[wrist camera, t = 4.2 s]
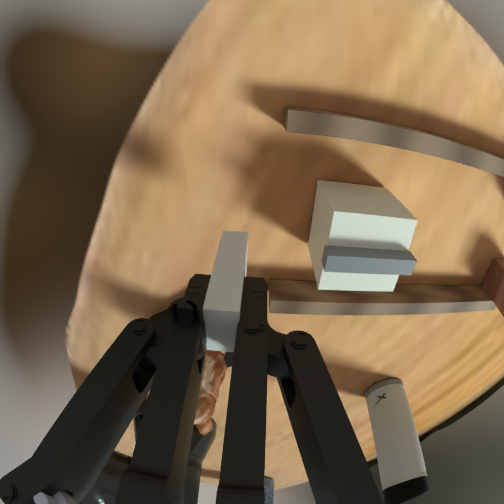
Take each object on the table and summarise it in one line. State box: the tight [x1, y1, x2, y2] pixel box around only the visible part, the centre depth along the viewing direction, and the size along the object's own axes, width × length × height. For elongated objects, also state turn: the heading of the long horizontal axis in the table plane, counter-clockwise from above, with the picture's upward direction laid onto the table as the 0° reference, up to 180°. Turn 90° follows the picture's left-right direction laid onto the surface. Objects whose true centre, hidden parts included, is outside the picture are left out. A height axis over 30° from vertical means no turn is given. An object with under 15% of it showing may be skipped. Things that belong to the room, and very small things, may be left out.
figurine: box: [149, 309, 234, 435], centre depth 27 cm, size 10×10×12 cm
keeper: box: [308, 180, 418, 292], centre depth 21 cm, size 6×6×7 cm
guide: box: [269, 107, 504, 317], centre depth 21 cm, size 29×17×6 cm, turn 87°
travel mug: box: [365, 379, 429, 504], centre depth 30 cm, size 6×7×20 cm
